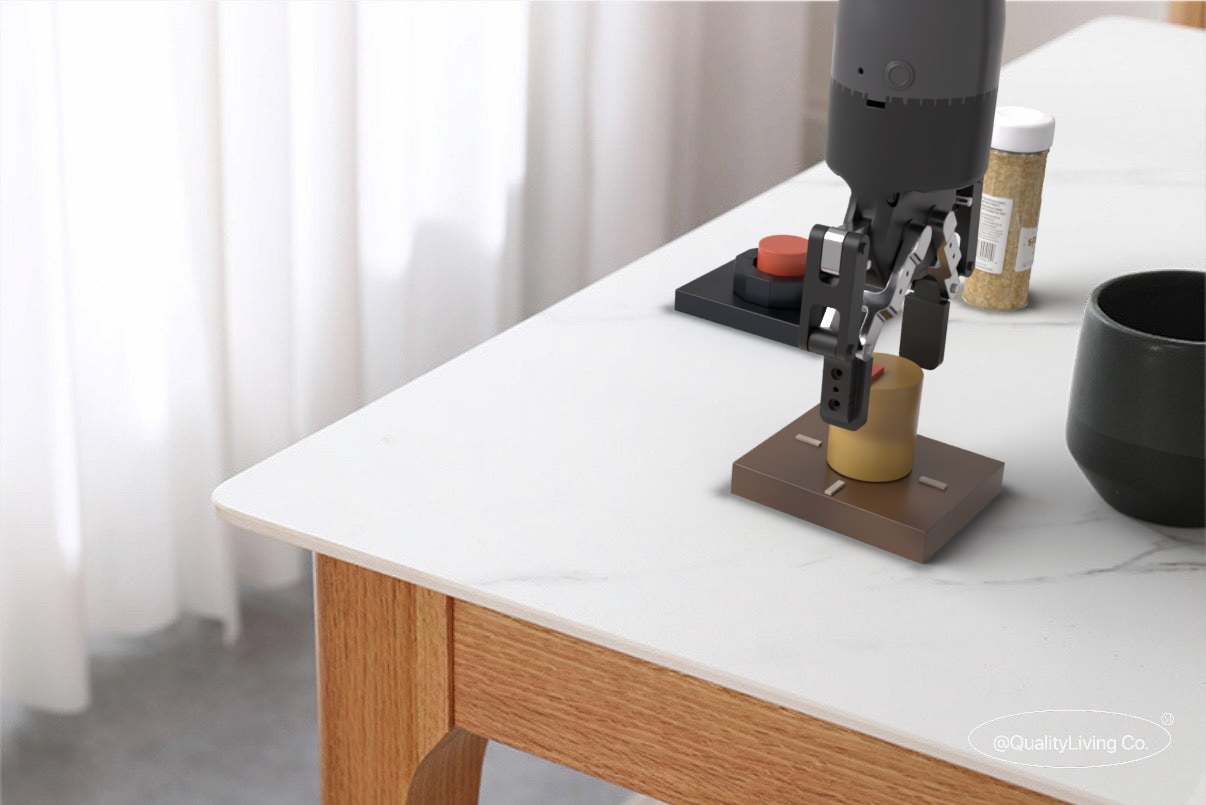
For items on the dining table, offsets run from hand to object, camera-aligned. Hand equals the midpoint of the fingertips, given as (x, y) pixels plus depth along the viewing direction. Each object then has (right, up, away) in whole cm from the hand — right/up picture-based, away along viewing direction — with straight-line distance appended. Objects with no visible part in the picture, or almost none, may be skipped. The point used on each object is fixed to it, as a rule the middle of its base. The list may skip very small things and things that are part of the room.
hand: (882, 393), depth 78 cm
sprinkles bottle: (+12, +6, +28) cm, 31 cm away
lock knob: (0, -4, +3) cm, 4 cm away
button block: (-2, +5, +25) cm, 26 cm away
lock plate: (0, -6, +4) cm, 7 cm away
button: (-2, +8, +24) cm, 25 cm away
